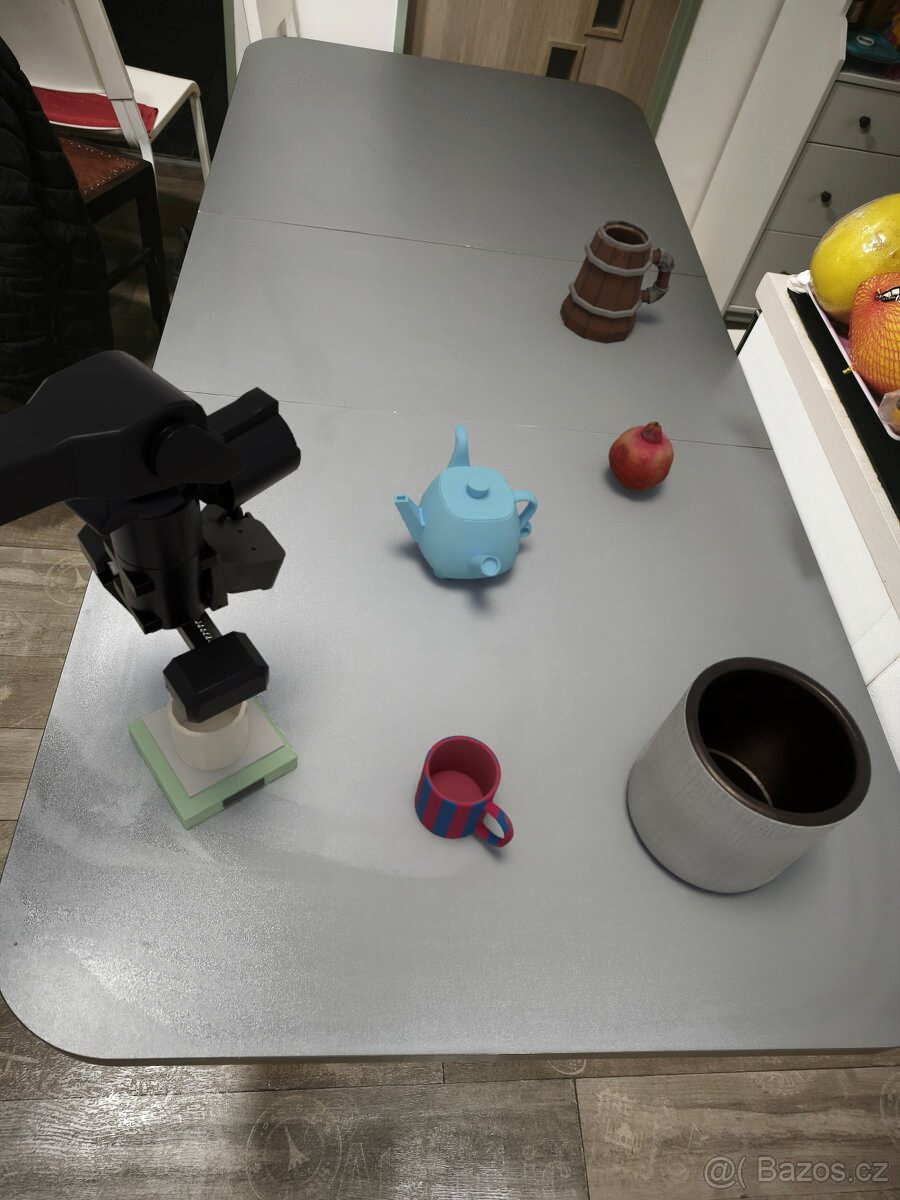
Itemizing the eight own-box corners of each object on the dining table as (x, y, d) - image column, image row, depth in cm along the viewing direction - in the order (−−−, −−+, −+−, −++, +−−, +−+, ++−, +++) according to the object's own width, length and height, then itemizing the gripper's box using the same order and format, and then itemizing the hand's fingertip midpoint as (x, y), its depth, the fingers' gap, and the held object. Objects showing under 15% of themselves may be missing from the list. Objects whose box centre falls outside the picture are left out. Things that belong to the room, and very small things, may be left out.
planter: (814, 883, 76) (913, 813, 64) (658, 911, 72) (733, 842, 60) (742, 732, 85) (816, 646, 73) (601, 749, 81) (655, 661, 69)
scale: (187, 832, 70) (184, 820, 68) (129, 735, 74) (125, 722, 73) (298, 767, 75) (299, 755, 73) (238, 681, 80) (237, 667, 78)
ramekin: (196, 783, 70) (189, 750, 65) (161, 729, 73) (153, 693, 68) (262, 747, 73) (260, 713, 68) (227, 696, 76) (223, 659, 71)
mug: (570, 341, 127) (598, 249, 115) (554, 298, 134) (579, 207, 122) (663, 347, 130) (700, 258, 118) (643, 304, 137) (676, 217, 126)
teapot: (371, 548, 93) (380, 475, 85) (445, 491, 101) (460, 418, 92) (477, 623, 89) (497, 554, 80) (545, 557, 97) (570, 488, 88)
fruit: (671, 495, 107) (701, 436, 100) (625, 511, 104) (652, 452, 96) (634, 456, 111) (660, 396, 104) (588, 471, 108) (611, 410, 100)
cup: (459, 759, 78) (471, 723, 73) (522, 845, 74) (540, 813, 68) (400, 791, 75) (409, 756, 70) (462, 884, 71) (476, 854, 65)
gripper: (339, 584, 53) (329, 708, 65) (205, 419, 61) (218, 556, 73) (178, 657, 48) (200, 777, 60) (55, 466, 56) (95, 605, 68)
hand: (181, 669), depth 66 cm, fingers open, 9 cm apart
